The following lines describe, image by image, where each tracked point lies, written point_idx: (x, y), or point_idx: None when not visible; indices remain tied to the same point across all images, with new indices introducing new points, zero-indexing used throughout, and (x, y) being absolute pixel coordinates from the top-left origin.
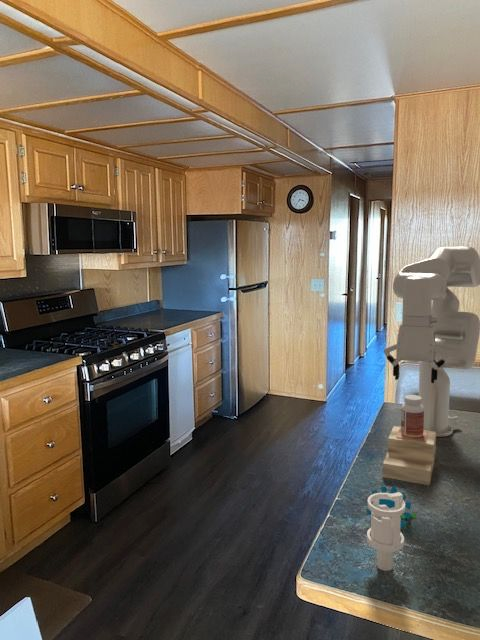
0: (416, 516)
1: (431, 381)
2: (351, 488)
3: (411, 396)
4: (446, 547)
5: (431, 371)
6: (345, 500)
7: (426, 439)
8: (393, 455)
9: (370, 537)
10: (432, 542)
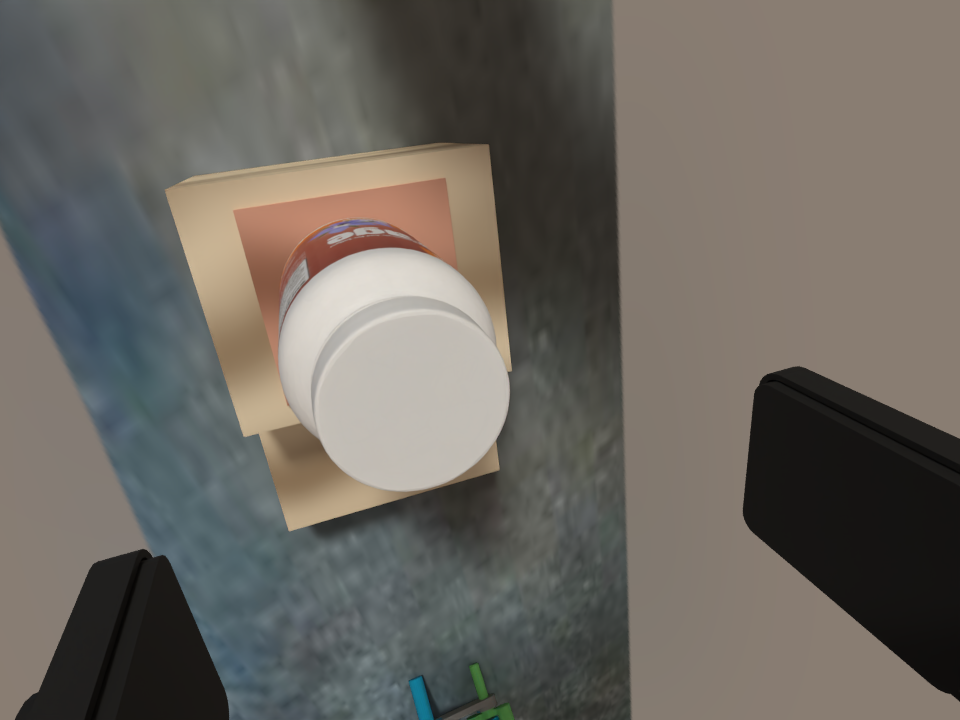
0: (511, 711)
1: (764, 535)
2: (220, 639)
3: (392, 389)
4: (574, 682)
5: (920, 674)
6: (248, 708)
7: None
8: (297, 426)
9: None
10: (543, 689)
